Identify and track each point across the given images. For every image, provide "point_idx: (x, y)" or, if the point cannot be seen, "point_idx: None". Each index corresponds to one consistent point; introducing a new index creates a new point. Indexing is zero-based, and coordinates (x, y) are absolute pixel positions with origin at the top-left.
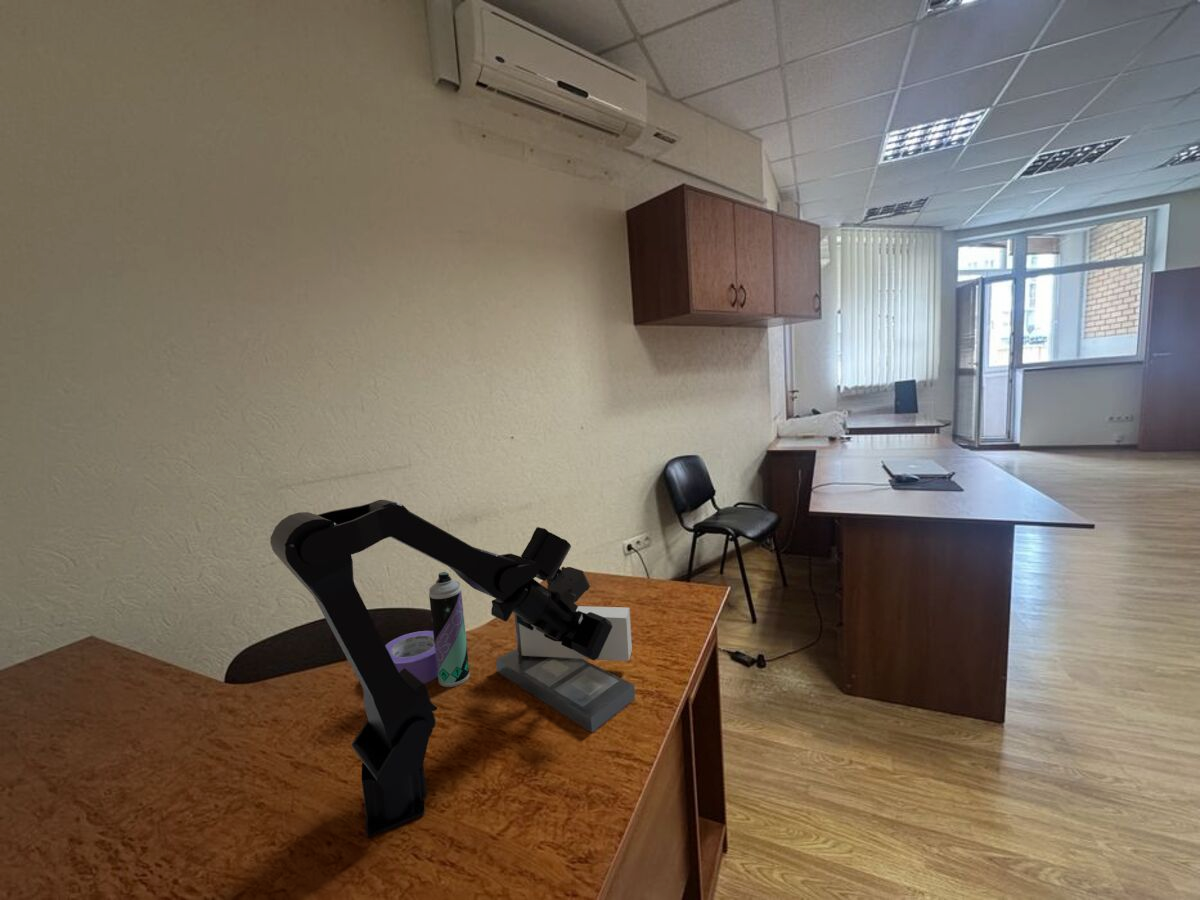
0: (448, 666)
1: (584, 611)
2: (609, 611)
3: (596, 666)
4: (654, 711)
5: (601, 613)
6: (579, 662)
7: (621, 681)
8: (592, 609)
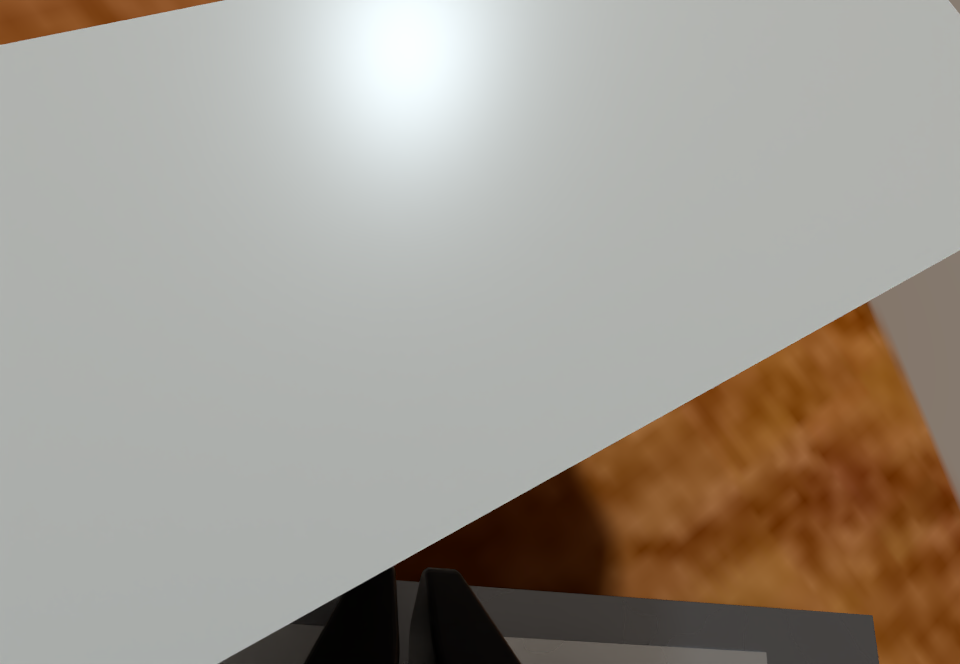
0: None
1: (161, 310)
2: (703, 77)
3: None
4: (941, 635)
5: (639, 212)
6: (272, 650)
7: (780, 643)
8: (309, 128)
